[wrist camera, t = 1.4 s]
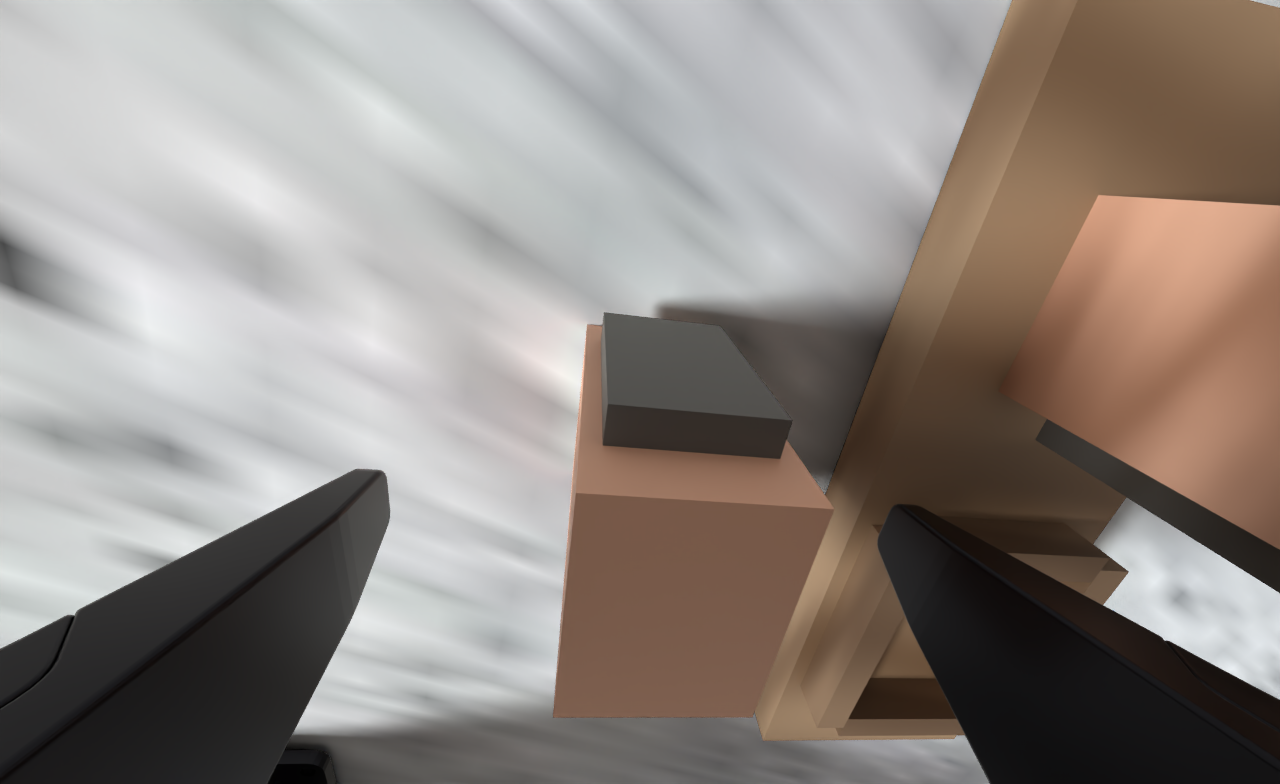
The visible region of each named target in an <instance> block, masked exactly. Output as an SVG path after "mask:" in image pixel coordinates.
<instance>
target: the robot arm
mask: <svg viewBox="0 0 1280 784" xmlns="http://www.w3.org/2000/svg"><path fill="white" fill-rule="evenodd" d="M389 519H390V504H389V494H388V485H387V477H386V475H385V473H384V472H383V471H381V470H372V469H355V470H353V471H351V472H349V473H347V474H345V475H343V476H341V477H339V478H337V479H335V480H333V481H331V482H329V483H327V484H325V485H323V486H321V487H319V488H317V489H315V490H313V491H311V492H309V493H307V494H305V495H303V496H301V497H299V498H298V499H296V500H294V501H292V502H290V503H288V504H286V505H284V506H282V507H280V508H278V509H276V510H274V511H272V512H270V513H268V514H266V515H264V516H262V517H260V518H258V519H256V520H254V521H252V522H250V523H248V524H246V525H244V526H242V527H240V528H238V529H236V530H234V531H233V532H231V533H229V534H227V535H225V536H223V537H221V538H219V539H217V540H215V541H213V542H211V543H209V544H207V545H205V546H203V547H201V548H199V549H197V550H195V551H193V552H191V553H189V554H187V555H185V556H183V557H181V558H179V559H177V560H175V561H173V562H171V563H169V564H167V565H165V566H163V567H161V568H159V569H158V570H156V571H154V572H152V573H150V574H148V575H146V576H144V577H142V578H140V579H138V580H136V581H134V582H132V583H130V584H128V585H126V586H124V587H122V588H120V589H118V590H116V591H114V592H112V593H110V594H108V595H106V596H104V597H102V598H100V599H98V600H96V601H94V602H92V603H90V604H88V605H86V606H84V607H83V608H81V609H79V610H78V611H77V612H76V614H75V616H74V615H67V616H64V617H62V618H61V619H59V620H57V621H55V622H53V623H51V624H49V625H47V626H45V627H43V628H41V629H39V630H37V631H35V632H33V633H31V634H29V635H27V636H25V637H23V638H21V639H19V640H17V641H15V642H13V643H11V644H9V645H7V646H5V647H3V648H1V649H0V784H337V783H336V779H335V774H334V770H333V766H332V762H331V758H330V756H329V755H328V754H326V753H325V752H322V751H318V750H285V748H286V746H287V744H288V742H289V740H290V738H291V736H292V734H293V732H294V730H295V728H296V726H297V724H298V722H299V720H300V718H301V716H302V715H303V713H304V711H305V709H306V707H307V705H308V703H309V701H310V699H311V697H312V695H313V693H314V691H315V689H316V687H317V685H318V683H319V681H320V680H321V678H322V676H323V674H324V672H325V670H326V668H327V666H328V664H329V662H330V660H331V658H332V656H333V654H334V652H335V650H336V648H337V646H338V644H339V643H340V641H341V639H342V637H343V635H344V633H345V631H346V629H347V627H348V625H349V623H350V621H351V619H352V616H353V614H354V612H355V610H356V607H357V605H358V602H359V600H360V597H361V595H362V592H363V590H364V587H365V584H366V582H367V579H368V576H369V574H370V571H371V569H372V566H373V563H374V561H375V558H376V555H377V553H378V550H379V548H380V545H381V542H382V540H383V537H384V534H385V532H386V529H387V526H388V523H389ZM877 547H878V551H879V553H880V556H881V558H882V561H883V563H884V566H885V568H886V571H887V573H888V576H889V578H890V580H891V583H892V585H893V588H894V590H895V593H896V595H897V598H898V600H899V603H900V605H901V608H902V610H903V612H904V615H905V617H906V619H907V622H908V624H909V626H910V629H911V631H912V633H913V635H914V637H915V639H916V641H917V643H918V645H919V647H920V649H921V651H922V653H923V655H924V656H925V658H926V660H927V662H928V664H929V666H930V668H931V670H932V672H933V674H934V676H935V678H936V680H937V682H938V684H939V686H940V688H941V689H942V691H943V693H944V695H945V697H946V699H947V701H948V703H949V705H950V707H951V709H952V711H953V713H954V715H955V717H956V719H957V720H958V722H959V724H960V726H961V728H962V730H963V732H964V734H965V736H966V738H967V740H968V742H969V744H970V746H971V748H972V750H973V752H974V753H975V755H976V757H977V759H978V761H979V763H980V765H981V767H982V769H983V771H984V773H985V775H986V777H987V779H988V781H989V783H990V784H1280V700H1279V699H1277V698H1275V697H1273V696H1271V695H1270V694H1268V693H1266V692H1264V691H1262V690H1260V689H1258V688H1256V687H1254V686H1252V685H1250V684H1248V683H1247V682H1245V681H1243V680H1241V679H1239V678H1237V677H1235V676H1233V675H1231V674H1230V673H1228V672H1226V671H1224V670H1222V669H1220V668H1218V667H1216V666H1215V665H1213V664H1211V663H1209V662H1207V661H1205V660H1203V659H1201V658H1200V657H1198V656H1196V655H1194V654H1192V653H1190V652H1188V651H1187V650H1185V649H1183V648H1181V647H1179V646H1177V645H1176V644H1174V643H1172V642H1170V641H1164V639H1163V638H1162V637H1160V636H1159V635H1157V634H1155V633H1153V632H1151V631H1150V630H1148V629H1146V628H1144V627H1142V626H1140V625H1138V624H1137V623H1135V622H1133V621H1131V620H1129V619H1127V618H1126V617H1124V616H1122V615H1120V614H1118V613H1116V612H1114V611H1113V610H1111V609H1109V608H1107V607H1105V606H1103V605H1102V604H1100V603H1098V602H1096V601H1094V600H1092V599H1090V598H1089V597H1087V596H1085V595H1083V594H1081V593H1079V592H1078V591H1076V590H1074V589H1072V588H1070V587H1068V586H1066V585H1065V584H1063V583H1061V582H1059V581H1057V580H1055V579H1054V578H1052V577H1050V576H1048V575H1046V574H1044V573H1043V572H1041V571H1039V570H1037V569H1035V568H1033V567H1031V566H1030V565H1028V564H1026V563H1024V562H1022V561H1020V560H1019V559H1017V558H1015V557H1013V556H1011V555H1009V554H1007V553H1006V552H1004V551H1002V550H1000V549H998V548H996V547H995V546H993V545H991V544H989V543H987V542H985V541H983V540H982V539H980V538H978V537H976V536H974V535H972V534H971V533H969V532H967V531H965V530H963V529H961V528H959V527H958V526H956V525H954V524H952V523H950V522H948V521H947V520H945V519H943V518H941V517H939V516H937V515H936V514H934V513H932V512H930V511H928V510H926V509H924V508H923V507H921V506H918V505H912V504H896V505H894V506H893V507H892V508H891V509H890V511H889V513H888V515H887V518H886V520H885V522H884V524H883V526H882V529H881V531H880V533H879V535H878V539H877Z"/></svg>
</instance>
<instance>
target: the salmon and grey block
mask: <svg viewBox="0 0 1280 784" xmlns="http://www.w3.org/2000/svg"><path fill="white" fill-rule="evenodd" d="M791 424H792V419H791V418H790V416H789V415H788V414H787V412H786V411H785V410H784V408H783V407H782V406H781V405H780V403H779V402H778V401H777V399H776V398H775V397H774V395H773V394H772V393H771V392H770V390H769V389H768V388H767V386H766V385H765V384H764V382H763V381H762V380H761V378H760V377H759V376H758V375H757V373H756V372H755V371H754V369H753V368H752V367H751V365H750V364H749V363H748V361H747V360H746V359H745V358H744V356H743V355H742V354H741V352H740V351H739V350H738V348H737V347H736V346H735V344H734V343H733V342H732V341H731V339H730V338H729V337H728V335H727V334H726V333H725V331H724V330H723V329H722V327H721V326H718V325H709V324H700V323H692V322H683V321H674V320H665V319H657V318H648V317H639V316H630V315H622V314H613V313H604V316H603V325H602V326H596V325H587V330H586V341H585V351H584V361H583V372H582V382H581V393H580V403H579V413H578V424H577V434H576V444H575V455H574V465H573V476H572V488H571V501H570V513H569V525H568V538H567V550H566V562H565V575H564V587H563V599H562V612H561V624H560V636H559V648H558V661H557V673H556V685H555V698H554V710H553V718H585V717H753V714H754V712H755V709H756V707H757V704H758V702H759V699H760V697H761V694H762V692H763V689H764V686H765V684H766V681H767V679H768V676H769V674H770V671H771V669H772V666H773V664H774V661H775V659H776V656H777V654H778V651H779V649H780V646H781V643H782V641H783V638H784V636H785V633H786V631H787V628H788V626H789V623H790V621H791V618H792V616H793V613H794V611H795V608H796V606H797V603H798V600H799V598H800V595H801V593H802V590H803V588H804V585H805V583H806V580H807V578H808V575H809V573H810V570H811V568H812V565H813V563H814V560H815V557H816V555H817V552H818V550H819V547H820V545H821V542H822V540H823V537H824V535H825V532H826V530H827V527H828V525H829V522H830V519H831V517H832V514H833V512H834V508H833V506H832V505H831V503H830V502H829V500H828V499H827V497H826V496H825V494H824V493H823V492H822V490H821V489H820V487H819V486H818V484H817V483H816V481H815V480H814V479H813V477H812V476H811V474H810V473H809V471H808V470H807V468H806V467H805V465H804V464H803V463H802V461H801V460H800V458H799V457H798V455H797V454H796V452H795V451H794V450H793V448H792V447H791V445H790V444H789V442H788V441H787V436H788V433H789V430H790V427H791Z"/></svg>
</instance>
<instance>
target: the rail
mask: <svg viewBox="0 0 1280 784" xmlns="http://www.w3.org/2000/svg"><path fill="white" fill-rule="evenodd" d="M825 496H826V497H827V499H828V500H829V502H830V503H831V505H832V506H833V508H834V512H833V514H832V517H831V519H830V522H829V525H828V527H827V530H826V532H825V535H824V537H823V540H822V542H821V545H820V547H819V550H818V552H817V555H816V557H815V560H814V563H813V565H812V568H811V570H810V573H809V575H808V578H807V580H806V583H805V585H804V588H803V590H802V593H801V595H800V598H799V600H798V603H797V606H796V608H795V611H794V613H793V616H792V618H791V621H790V623H789V626H788V628H787V631H786V633H785V636H784V638H783V641H782V643H781V646H780V649H779V651H778V654H777V656H776V659H775V661H774V664H773V666H772V669H771V671H770V674H769V676H768V679H767V681H766V684H765V686H764V689H763V692H762V694H761V697H760V699H759V702H758V704H757V707H756V709H755V715H756V718H757V722H758V725H759V729H760V732H761V736H762V739H763V741H784V740H892V739H954V738H955V737H956V735H965V734H964V732H963V730H962V728H961V726H960V724H959V722H958V720H957V719H956V717H955V715H954V713H953V711H952V709H951V707H950V705H949V703H948V701H947V699H946V697H945V695H944V693H943V691H942V689H941V688H940V686H939V684H938V682H937V680H936V678H935V676H934V674H933V672H932V670H931V668H930V666H929V664H928V662H927V660H926V658H925V656H924V655H923V653H922V651H921V649H920V647H919V645H918V643H917V641H916V639H915V637H914V635H913V633H912V631H911V629H910V626H909V624H908V622H907V619H906V617H905V615H904V612H903V610H902V608H901V605H900V603H899V600H898V598H897V595H896V593H895V590H894V588H893V585H892V583H891V580H890V578H889V576H888V573H887V571H886V568H885V566H884V563H883V561H882V558H881V556H880V553H879V551H878V547H877V539H878V535H879V533H880V531H881V529H882V526H883V524H884V522H885V520H886V518H887V515H888V513H889V511H890V509H891V508H892V507H893V506H894V505H896V504H912V505H918V506H921V507H923V508H924V509H926V510H928V511H930V512H932V513H934V514H936V515H937V516H939V517H941V518H943V519H945V520H947V521H948V522H950V523H952V524H954V525H956V526H958V527H959V528H961V529H963V530H965V531H967V532H969V533H971V534H972V535H974V536H976V537H978V538H980V539H982V540H983V541H985V542H987V543H989V544H991V545H993V546H995V547H996V548H998V549H1000V550H1002V551H1004V552H1006V553H1007V554H1009V555H1011V556H1013V557H1015V558H1017V559H1019V560H1020V561H1022V562H1024V563H1026V564H1028V565H1030V566H1031V567H1033V568H1035V569H1037V570H1039V571H1041V572H1043V573H1044V574H1046V575H1048V576H1050V577H1052V578H1054V579H1055V580H1057V581H1059V582H1061V583H1063V584H1065V585H1066V586H1068V587H1070V588H1072V589H1074V590H1076V591H1078V592H1079V593H1081V594H1083V595H1085V596H1087V597H1089V598H1090V599H1092V600H1094V601H1096V602H1098V603H1100V604H1102V605H1103V604H1104V603H1105V602H1106V601H1107V599H1108V598H1109V597H1110V595H1111V594H1112V593H1113V592H1114V590H1115V589H1116V588H1117V587H1118V585H1119V584H1120V583H1121V581H1122V580H1123V579H1124V578H1125V576H1126V575H1127V574H1128V571H1127V570H1126V569H1125V568H1123V567H1122V566H1121V565H1119V564H1118V563H1117V562H1115V561H1114V560H1113V559H1111V558H1110V557H1109V556H1107V555H1106V554H1105V553H1104V552H1102V551H1101V550H1100V549H1098V548H1097V547H1096V546H1094V545H1093V543H1094V542H1095V541H1096V539H1097V538H1098V536H1099V535H1100V534H1101V532H1102V531H1103V529H1104V528H1105V527H1106V525H1107V524H1108V522H1109V521H1110V520H1111V518H1112V517H1113V515H1114V514H1115V513H1116V511H1117V510H1118V508H1119V507H1120V506H1121V504H1122V503H1123V501H1124V500H1125V499H1126V497H1127V498H1129V499H1130V500H1132V501H1134V502H1135V503H1137V504H1138V505H1140V506H1142V507H1143V508H1145V509H1146V510H1148V511H1150V512H1151V513H1153V514H1154V515H1156V516H1158V517H1159V518H1161V519H1162V520H1164V521H1166V522H1167V523H1169V524H1170V525H1172V526H1174V527H1175V528H1177V529H1178V530H1180V531H1182V532H1183V533H1185V534H1186V535H1188V536H1190V537H1191V538H1193V539H1194V540H1196V541H1198V542H1199V543H1201V544H1202V545H1204V546H1206V547H1207V548H1209V549H1210V550H1212V551H1214V552H1215V553H1217V554H1218V555H1220V556H1222V557H1223V558H1225V559H1226V560H1228V561H1230V562H1231V563H1233V564H1234V565H1236V566H1238V567H1239V568H1241V569H1242V570H1244V571H1246V572H1247V573H1249V574H1250V575H1252V576H1253V577H1255V578H1257V579H1258V580H1260V581H1261V582H1263V583H1265V584H1266V585H1268V586H1269V587H1271V588H1273V589H1274V590H1276V591H1277V592H1279V593H1280V8H1278V7H1274V6H1270V5H1266V4H1262V3H1258V2H1254V1H1250V0H1012V2H1011V5H1010V8H1009V10H1008V13H1007V16H1006V18H1005V21H1004V24H1003V26H1002V29H1001V31H1000V34H999V37H998V39H997V42H996V45H995V47H994V50H993V53H992V55H991V58H990V61H989V63H988V66H987V68H986V71H985V74H984V76H983V79H982V82H981V84H980V87H979V90H978V92H977V95H976V98H975V100H974V103H973V106H972V108H971V111H970V113H969V116H968V119H967V121H966V124H965V127H964V129H963V132H962V135H961V137H960V140H959V143H958V145H957V148H956V150H955V153H954V156H953V158H952V161H951V164H950V166H949V169H948V172H947V174H946V177H945V180H944V182H943V185H942V187H941V190H940V193H939V195H938V198H937V201H936V203H935V206H934V209H933V211H932V214H931V217H930V219H929V222H928V224H927V227H926V230H925V232H924V235H923V238H922V240H921V243H920V246H919V248H918V251H917V254H916V256H915V259H914V261H913V264H912V267H911V269H910V272H909V275H908V277H907V280H906V283H905V285H904V288H903V291H902V293H901V296H900V298H899V301H898V304H897V306H896V309H895V312H894V314H893V317H892V320H891V322H890V325H889V328H888V330H887V333H886V335H885V338H884V341H883V343H882V346H881V349H880V351H879V354H878V357H877V359H876V362H875V365H874V367H873V370H872V372H871V375H870V378H869V380H868V383H867V386H866V388H865V391H864V394H863V396H862V399H861V402H860V404H859V407H858V409H857V412H856V415H855V417H854V420H853V423H852V425H851V428H850V431H849V433H848V436H847V439H846V441H845V444H844V446H843V449H842V452H841V454H840V457H839V460H838V462H837V465H836V468H835V470H834V473H833V476H832V478H831V481H830V483H829V486H828V489H827V491H826V494H825Z"/></svg>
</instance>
